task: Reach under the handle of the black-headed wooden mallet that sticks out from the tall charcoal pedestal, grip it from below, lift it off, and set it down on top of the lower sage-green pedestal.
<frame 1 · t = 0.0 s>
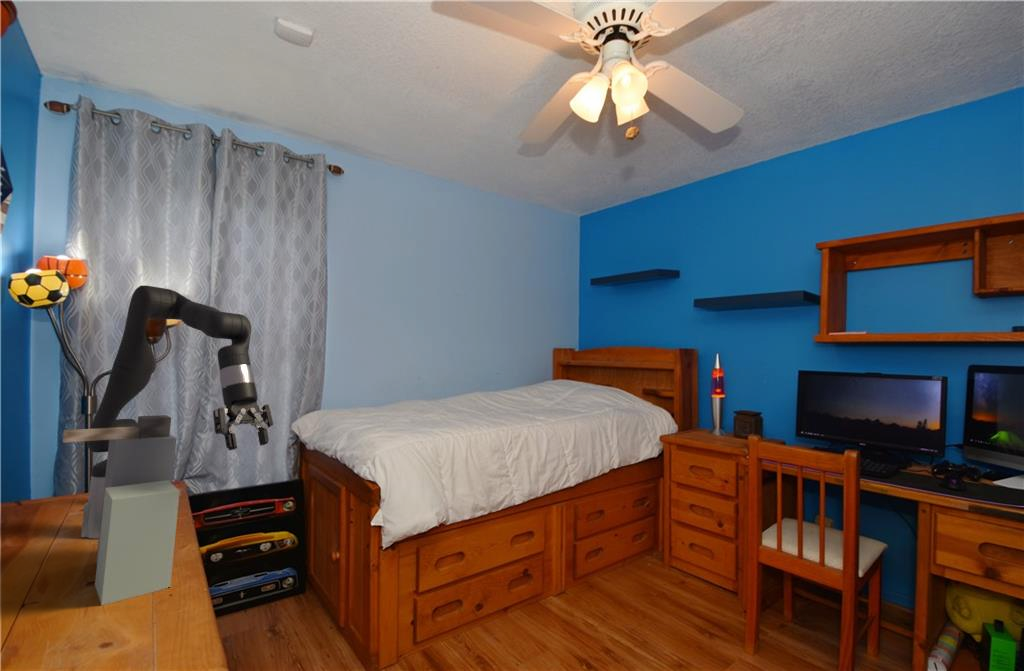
hand: (249, 447, 115), 31 cm above the table, tool tilted 20°, fingers open, 8 cm apart
stand a: (130, 563, 117), on the table
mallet: (152, 436, 121), point 32 cm above the table, touching stand a
stand b: (132, 586, 106), on the table
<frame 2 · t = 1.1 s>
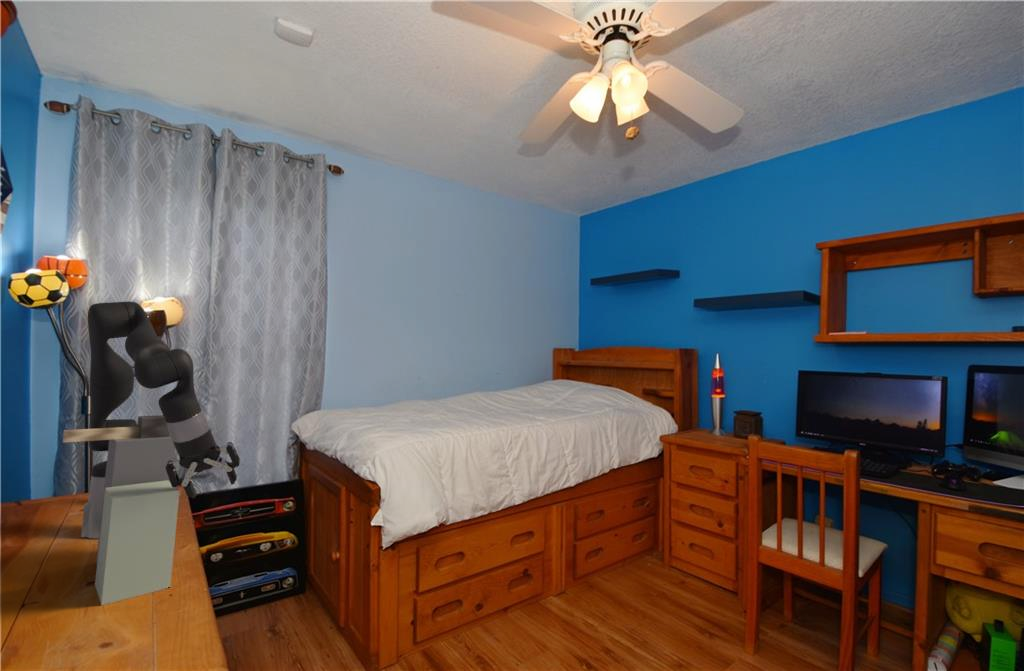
hand: (213, 489, 113), 21 cm above the table, tool tilted 25°, fingers open, 8 cm apart
nothing on the table moved.
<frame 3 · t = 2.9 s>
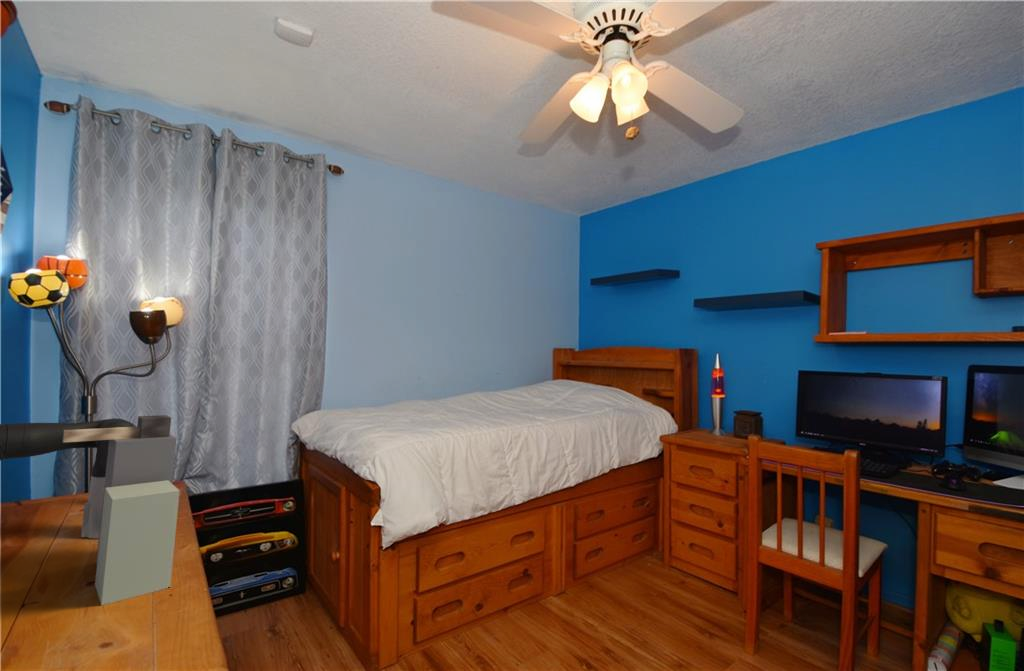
hand: (2, 450, 102), 31 cm above the table, tool pointing upward, fingers open, 8 cm apart
nothing on the table moved.
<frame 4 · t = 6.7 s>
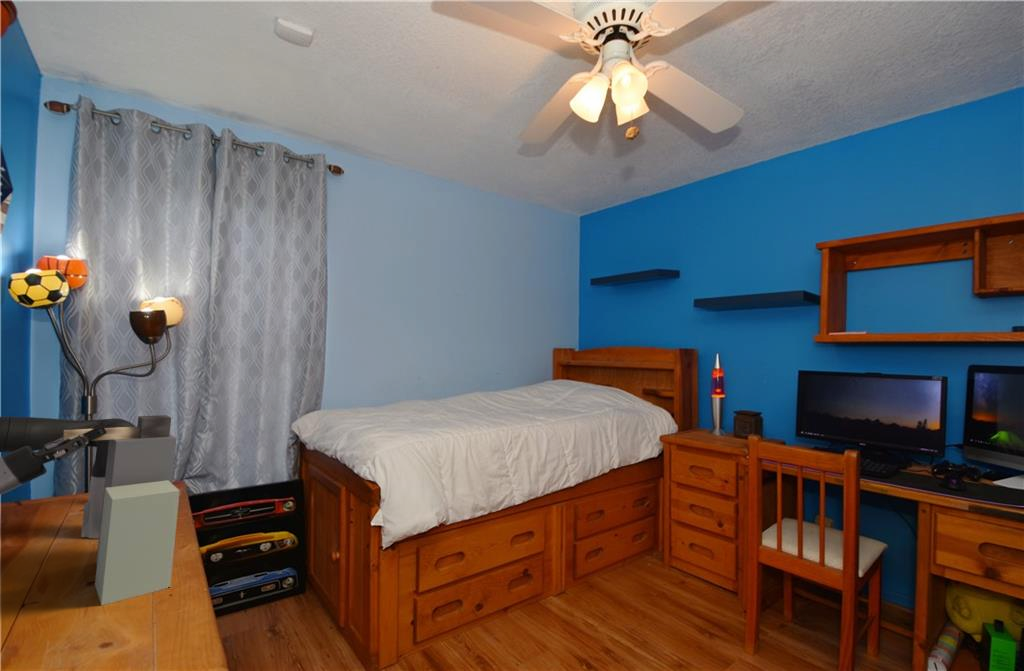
hand: (103, 428, 114), 35 cm above the table, tool pointing upward, fingers closed on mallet, 3 cm apart
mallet: (152, 436, 121), point 32 cm above the table, touching gripper, stand a
everything else where it was.
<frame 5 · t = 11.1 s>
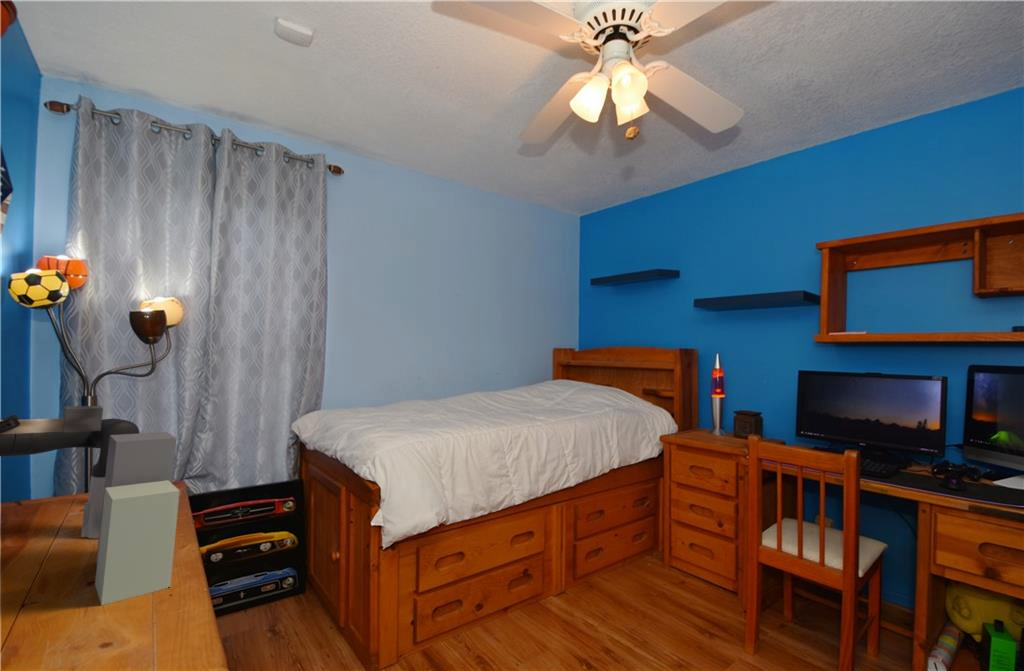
hand: (17, 419, 96), 39 cm above the table, tool pointing upward, fingers closed on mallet, 3 cm apart
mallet: (81, 429, 103), point 36 cm above the table, touching gripper
everything else where it was.
when the fingers open (26 cm above the table, at t = 15.4 s): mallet drops 1 cm, resting on stand b.
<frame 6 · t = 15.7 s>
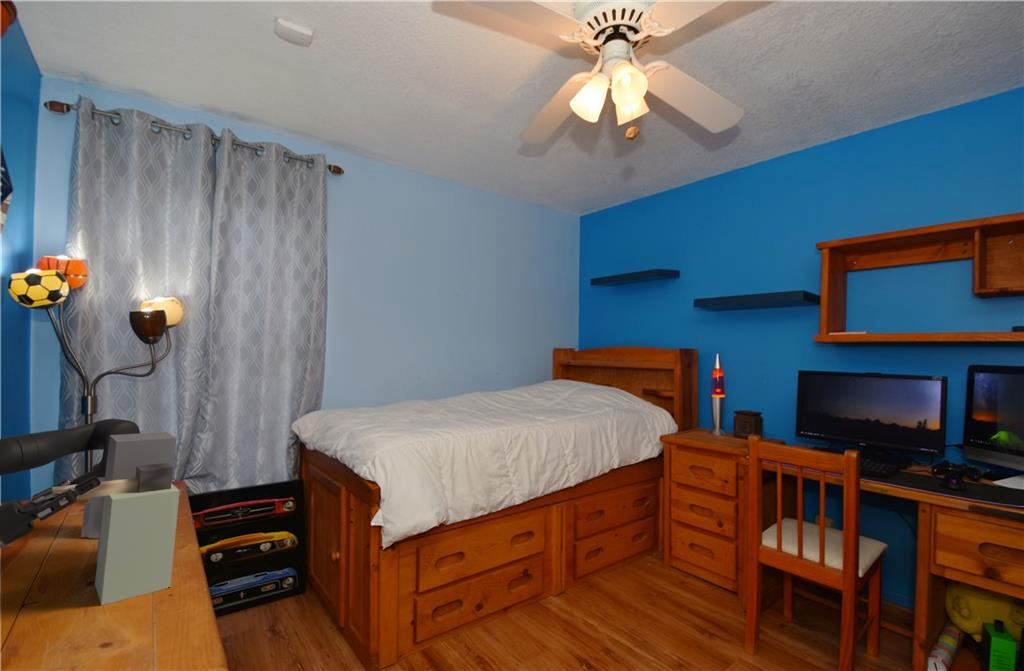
hand: (96, 476, 102), 26 cm above the table, tool pointing upward, fingers open, 5 cm apart
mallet: (152, 488, 109), point 22 cm above the table, touching stand b
everything else where it was.
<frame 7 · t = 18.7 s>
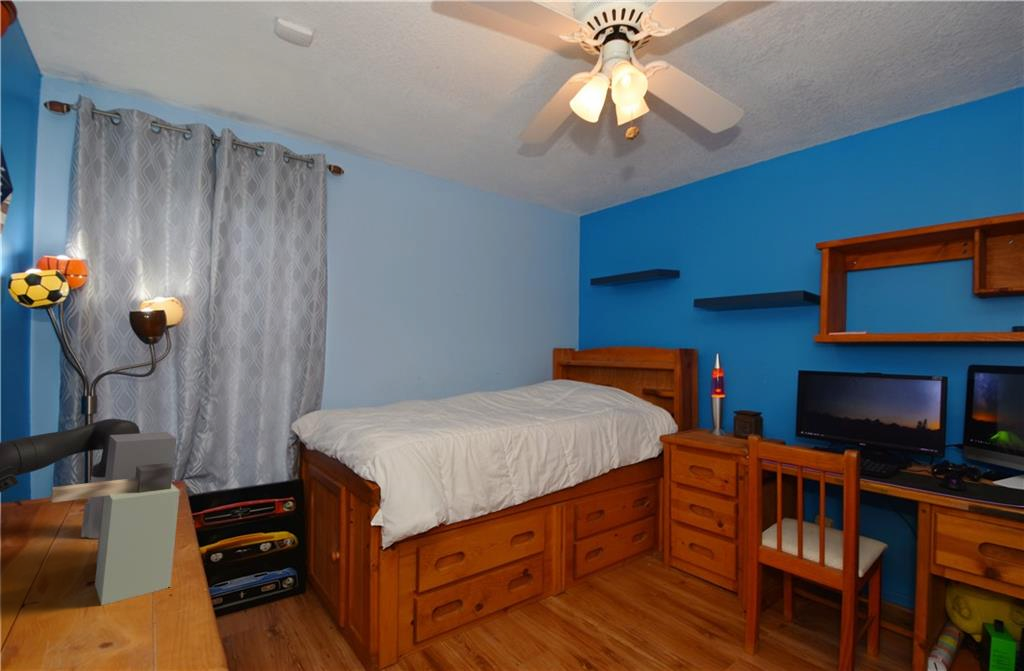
hand: (15, 473, 94), 28 cm above the table, tool pointing upward, fingers open, 8 cm apart
nothing on the table moved.
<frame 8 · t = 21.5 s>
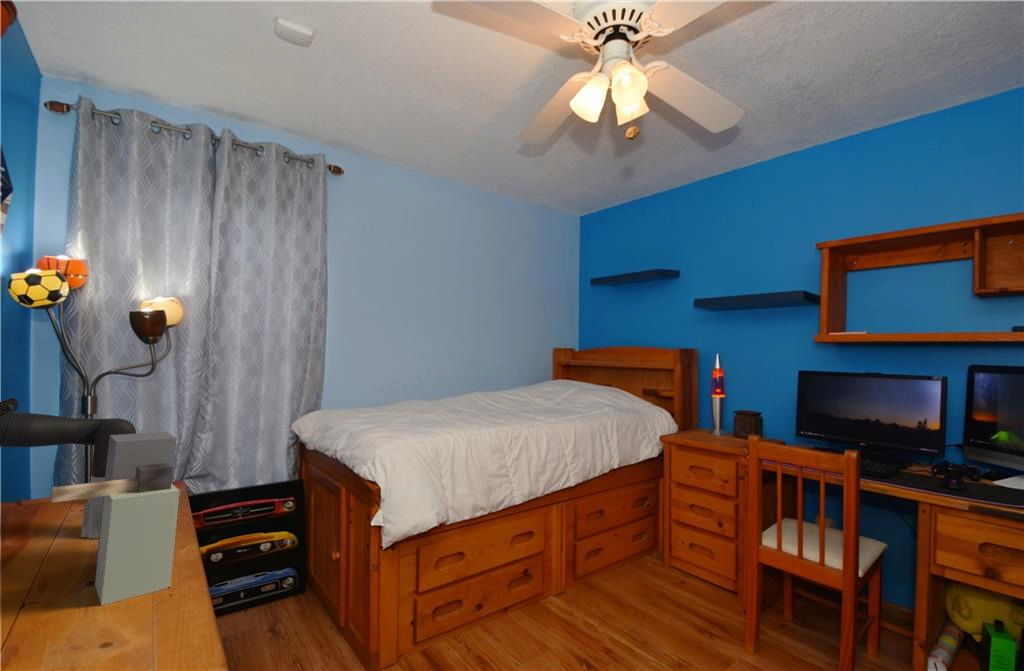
hand: (16, 402, 107), 41 cm above the table, tool pointing upward, fingers open, 8 cm apart
nothing on the table moved.
at the end: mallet 0.1 cm from the target spot on the stand b, point 22.0 cm above the stand b's base; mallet tilted 0°; the gripper is holding nothing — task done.
